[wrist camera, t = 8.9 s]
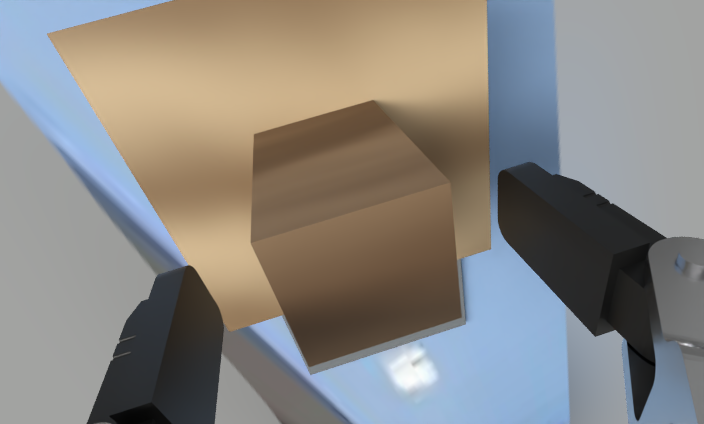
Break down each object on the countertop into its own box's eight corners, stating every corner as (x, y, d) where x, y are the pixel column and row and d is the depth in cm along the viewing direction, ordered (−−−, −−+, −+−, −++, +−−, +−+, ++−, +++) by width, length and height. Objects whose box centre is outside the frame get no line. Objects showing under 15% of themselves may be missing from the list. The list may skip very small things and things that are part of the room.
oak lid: (60, 30, 10) (-176, 93, 5) (471, -79, 11) (694, -138, 5) (230, 317, 17) (216, 487, 11) (482, 238, 18) (588, 362, 12)
